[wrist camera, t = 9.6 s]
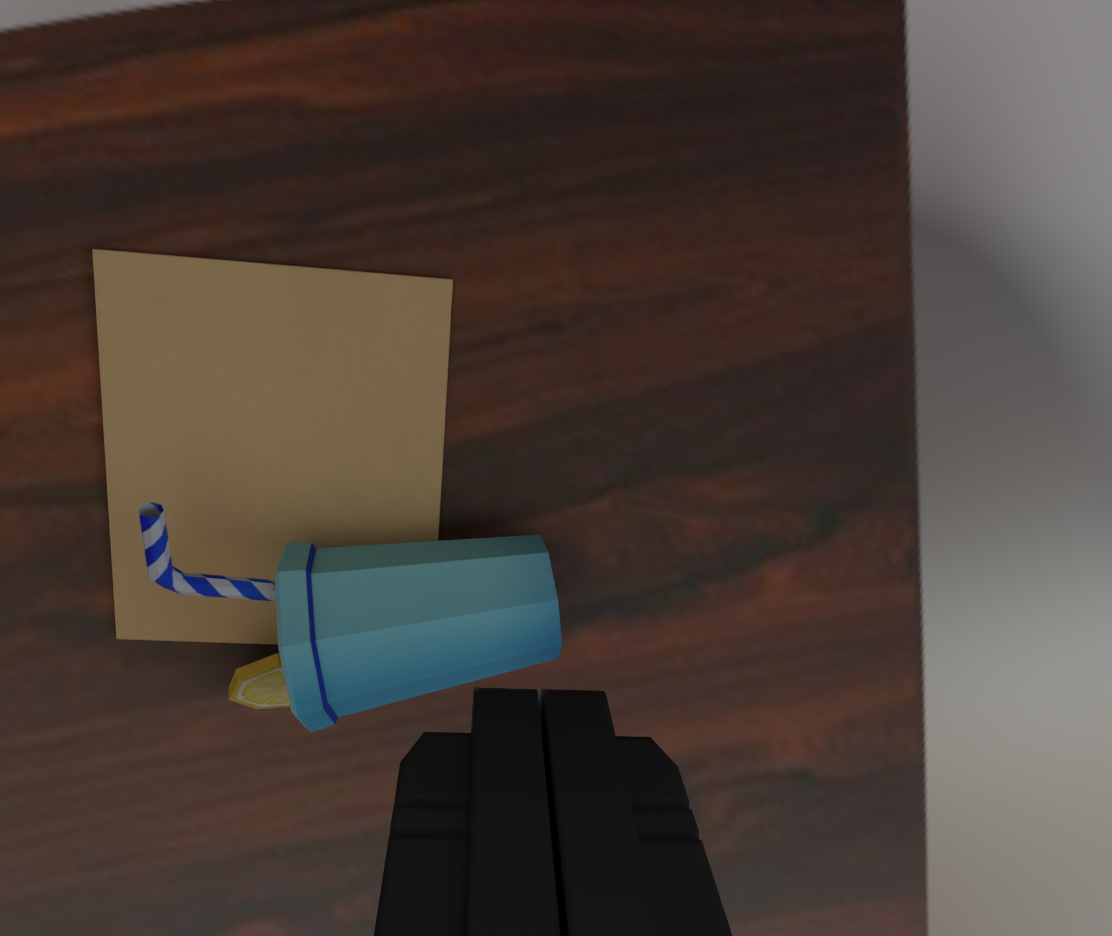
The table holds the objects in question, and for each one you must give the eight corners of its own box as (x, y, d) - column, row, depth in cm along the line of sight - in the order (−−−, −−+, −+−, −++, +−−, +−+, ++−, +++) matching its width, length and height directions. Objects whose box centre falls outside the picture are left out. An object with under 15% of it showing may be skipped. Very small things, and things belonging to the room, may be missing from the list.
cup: (527, 394, 35) (137, 443, 33) (569, 524, 29) (98, 594, 27) (535, 620, 44) (229, 671, 42) (568, 753, 38) (214, 821, 36)
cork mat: (453, 278, 36) (452, 279, 35) (432, 647, 41) (431, 650, 40) (95, 248, 34) (91, 249, 34) (118, 635, 39) (116, 639, 39)
